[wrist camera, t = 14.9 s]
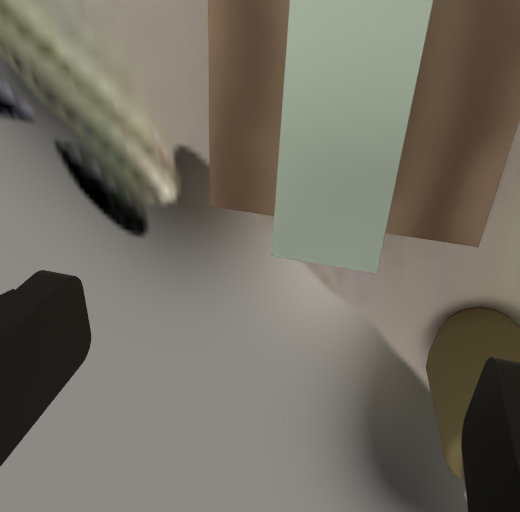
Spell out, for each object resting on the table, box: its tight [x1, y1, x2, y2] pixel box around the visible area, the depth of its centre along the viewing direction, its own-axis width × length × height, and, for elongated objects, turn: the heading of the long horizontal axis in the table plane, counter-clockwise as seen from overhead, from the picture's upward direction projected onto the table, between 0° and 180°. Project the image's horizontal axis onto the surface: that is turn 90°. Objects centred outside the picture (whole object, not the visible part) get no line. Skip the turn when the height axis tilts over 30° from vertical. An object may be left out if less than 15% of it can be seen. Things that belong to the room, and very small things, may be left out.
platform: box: [208, 0, 520, 247], centre depth 30 cm, size 18×18×4 cm
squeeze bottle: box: [426, 308, 520, 501], centre depth 32 cm, size 8×8×18 cm
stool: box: [272, 0, 433, 274], centre depth 25 cm, size 5×12×10 cm, turn 177°
